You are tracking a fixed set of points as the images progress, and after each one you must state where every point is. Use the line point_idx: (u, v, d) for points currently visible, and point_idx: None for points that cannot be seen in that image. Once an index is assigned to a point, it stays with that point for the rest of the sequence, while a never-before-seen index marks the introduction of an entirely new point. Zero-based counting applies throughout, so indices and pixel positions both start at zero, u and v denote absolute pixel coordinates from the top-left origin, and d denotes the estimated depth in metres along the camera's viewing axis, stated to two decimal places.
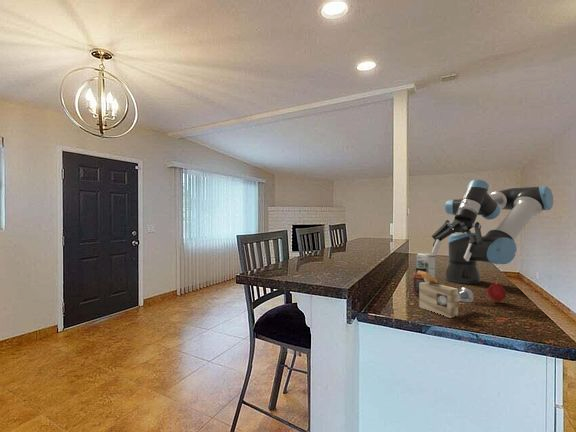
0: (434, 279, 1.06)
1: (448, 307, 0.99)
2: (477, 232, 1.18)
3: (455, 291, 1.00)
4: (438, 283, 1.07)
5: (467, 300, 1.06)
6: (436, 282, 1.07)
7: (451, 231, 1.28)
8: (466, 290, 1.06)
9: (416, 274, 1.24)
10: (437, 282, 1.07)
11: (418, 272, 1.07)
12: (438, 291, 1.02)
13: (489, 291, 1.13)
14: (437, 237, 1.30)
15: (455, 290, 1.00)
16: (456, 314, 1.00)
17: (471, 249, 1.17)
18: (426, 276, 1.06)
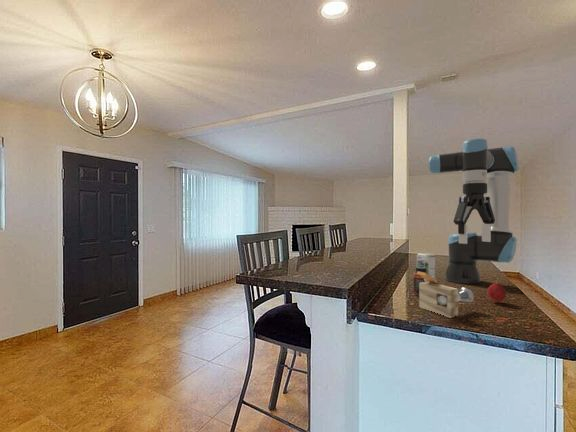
0: (434, 279, 1.06)
1: (448, 307, 0.99)
2: (491, 209, 1.12)
3: (455, 291, 1.00)
4: (438, 283, 1.07)
5: (467, 300, 1.06)
6: (436, 282, 1.07)
7: None
8: (466, 290, 1.06)
9: (416, 274, 1.24)
10: (437, 282, 1.07)
11: (418, 273, 1.07)
12: (438, 291, 1.02)
13: (489, 291, 1.13)
14: (465, 222, 1.05)
15: (455, 290, 1.00)
16: (456, 314, 1.00)
17: None
18: (426, 277, 1.06)
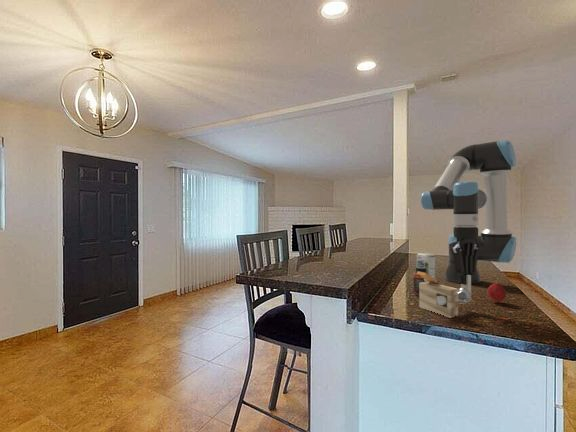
0: (434, 279, 1.06)
1: (448, 307, 0.99)
2: (476, 259, 1.07)
3: (455, 291, 1.00)
4: (438, 283, 1.07)
5: (465, 301, 1.05)
6: (436, 282, 1.07)
7: None
8: (464, 291, 1.05)
9: (416, 274, 1.24)
10: (437, 282, 1.07)
11: (418, 273, 1.07)
12: (438, 291, 1.02)
13: (489, 291, 1.13)
14: (467, 272, 1.05)
15: (455, 290, 1.00)
16: (456, 314, 1.00)
17: None
18: (426, 277, 1.06)
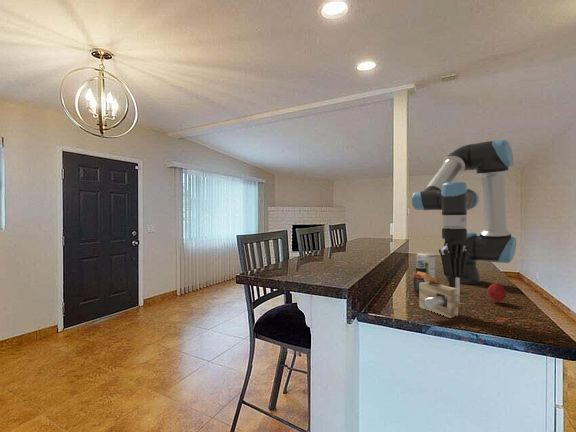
0: (434, 279, 1.06)
1: (448, 307, 0.99)
2: (465, 261, 1.05)
3: (455, 291, 1.00)
4: (438, 283, 1.07)
5: None
6: (436, 282, 1.07)
7: None
8: None
9: (416, 274, 1.24)
10: (437, 282, 1.07)
11: (418, 273, 1.07)
12: (438, 291, 1.02)
13: (489, 291, 1.13)
14: (455, 275, 1.02)
15: (455, 290, 1.00)
16: (456, 314, 1.00)
17: None
18: (426, 277, 1.06)
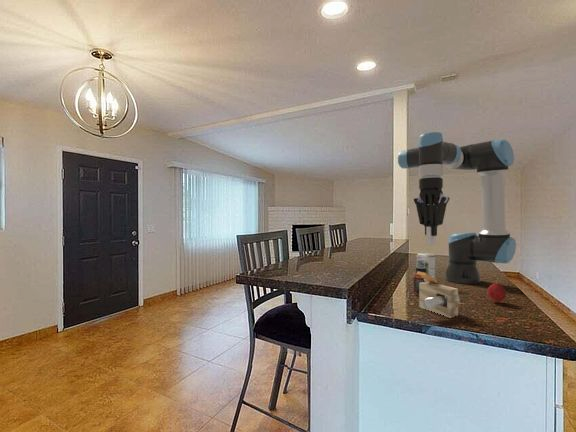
0: (434, 279, 1.06)
1: (448, 307, 0.99)
2: None
3: (455, 291, 1.00)
4: (438, 283, 1.07)
5: None
6: (436, 282, 1.07)
7: None
8: None
9: (416, 274, 1.24)
10: (437, 282, 1.07)
11: (418, 273, 1.07)
12: (438, 291, 1.02)
13: (489, 291, 1.13)
14: None
15: (455, 290, 1.00)
16: (456, 314, 1.00)
17: None
18: (426, 277, 1.06)
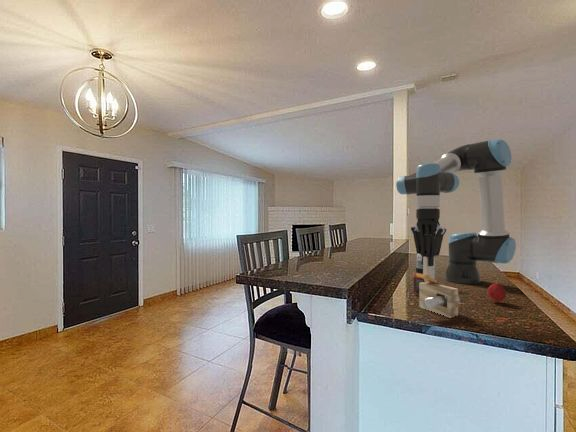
0: (434, 280, 1.06)
1: (448, 307, 0.99)
2: None
3: (455, 291, 1.00)
4: None
5: None
6: (436, 282, 1.07)
7: None
8: None
9: None
10: (437, 282, 1.07)
11: (417, 275, 1.07)
12: (438, 291, 1.02)
13: (489, 291, 1.13)
14: None
15: (455, 290, 1.00)
16: (456, 314, 1.00)
17: None
18: (425, 278, 1.06)
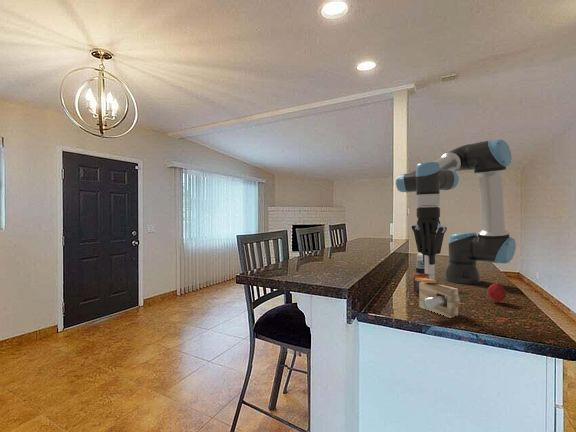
0: (433, 281, 1.06)
1: (448, 307, 0.99)
2: None
3: (455, 291, 1.00)
4: (438, 282, 1.07)
5: None
6: (436, 283, 1.07)
7: None
8: None
9: (416, 274, 1.24)
10: (437, 282, 1.07)
11: (416, 280, 1.06)
12: (438, 291, 1.02)
13: (489, 291, 1.13)
14: None
15: (455, 290, 1.00)
16: (456, 314, 1.00)
17: None
18: None
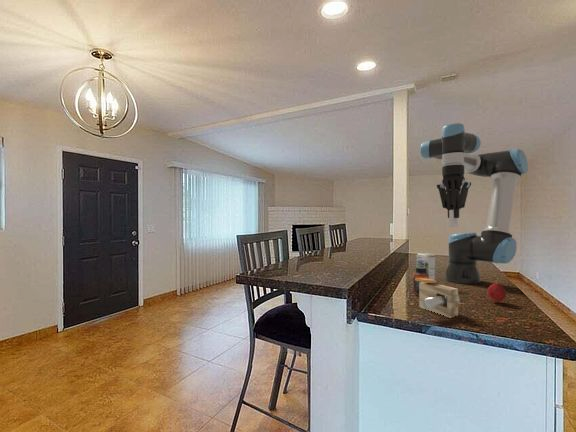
0: (433, 281, 1.06)
1: (448, 307, 0.99)
2: None
3: (455, 291, 1.00)
4: (438, 282, 1.07)
5: None
6: (436, 283, 1.07)
7: None
8: None
9: (416, 274, 1.24)
10: (437, 282, 1.07)
11: (416, 280, 1.06)
12: (438, 291, 1.02)
13: (489, 291, 1.13)
14: None
15: (455, 290, 1.00)
16: (456, 314, 1.00)
17: None
18: None
